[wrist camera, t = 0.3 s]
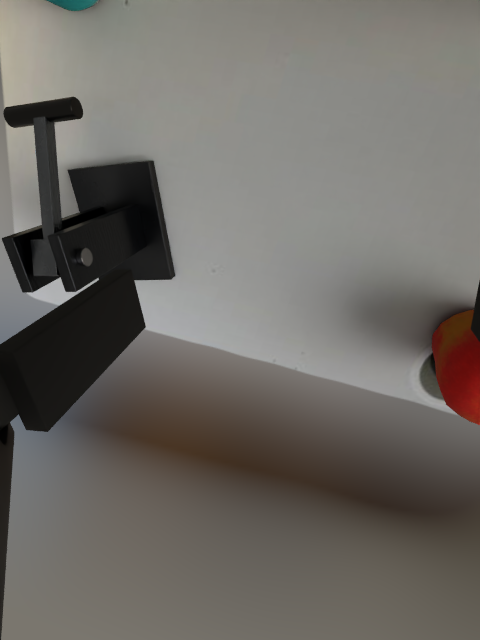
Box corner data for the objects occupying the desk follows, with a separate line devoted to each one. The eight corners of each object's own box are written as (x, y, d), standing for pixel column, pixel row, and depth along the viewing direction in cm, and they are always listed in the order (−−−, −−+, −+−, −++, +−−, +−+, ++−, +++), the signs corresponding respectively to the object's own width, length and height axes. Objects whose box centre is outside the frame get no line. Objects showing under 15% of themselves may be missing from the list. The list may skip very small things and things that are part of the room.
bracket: (74, 168, 38) (-43, 186, 26) (153, 160, 36) (65, 176, 24) (104, 277, 43) (18, 333, 32) (175, 275, 41) (112, 335, 29)
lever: (22, 114, 30) (-4, 100, 28) (86, 104, 28) (65, 89, 26) (36, 276, 31) (12, 276, 29) (97, 275, 30) (78, 275, 28)
